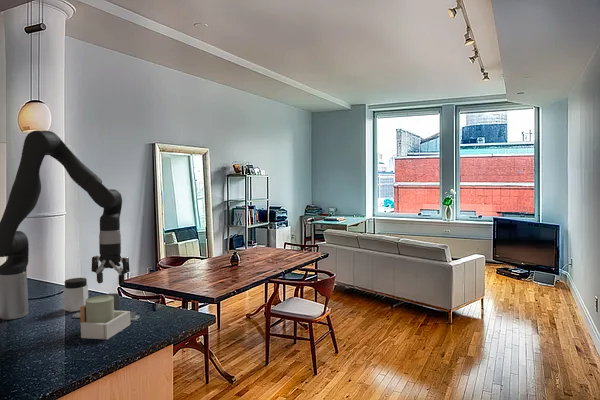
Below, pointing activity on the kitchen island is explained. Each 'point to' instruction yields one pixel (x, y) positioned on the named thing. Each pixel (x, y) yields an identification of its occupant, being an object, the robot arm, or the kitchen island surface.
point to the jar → (75, 294)
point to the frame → (106, 326)
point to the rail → (130, 316)
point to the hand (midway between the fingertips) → (110, 283)
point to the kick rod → (116, 307)
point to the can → (100, 309)
